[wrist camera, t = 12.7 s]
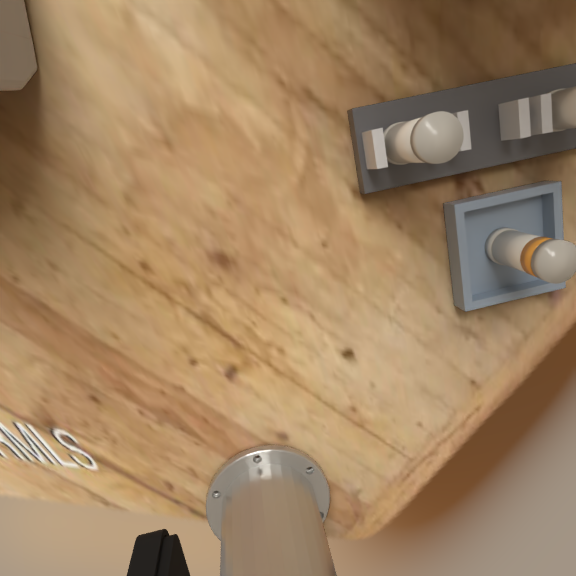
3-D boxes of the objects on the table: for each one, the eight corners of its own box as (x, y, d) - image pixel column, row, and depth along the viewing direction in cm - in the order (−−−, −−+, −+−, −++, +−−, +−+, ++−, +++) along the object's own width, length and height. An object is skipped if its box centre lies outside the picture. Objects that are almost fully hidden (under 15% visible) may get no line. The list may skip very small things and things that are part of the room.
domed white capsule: (420, 160, 40) (465, 158, 32) (381, 168, 40) (419, 168, 32) (415, 119, 39) (460, 106, 31) (376, 127, 39) (412, 116, 31)
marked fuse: (517, 223, 43) (579, 236, 36) (519, 259, 44) (580, 278, 37) (483, 231, 43) (537, 245, 35) (485, 266, 44) (539, 287, 36)
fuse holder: (579, 145, 43) (616, 143, 39) (360, 193, 41) (374, 195, 37) (576, 64, 41) (615, 52, 37) (347, 110, 40) (361, 104, 35)
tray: (550, 282, 46) (565, 287, 44) (454, 305, 45) (465, 311, 43) (545, 180, 43) (561, 181, 41) (443, 203, 43) (454, 204, 40)
